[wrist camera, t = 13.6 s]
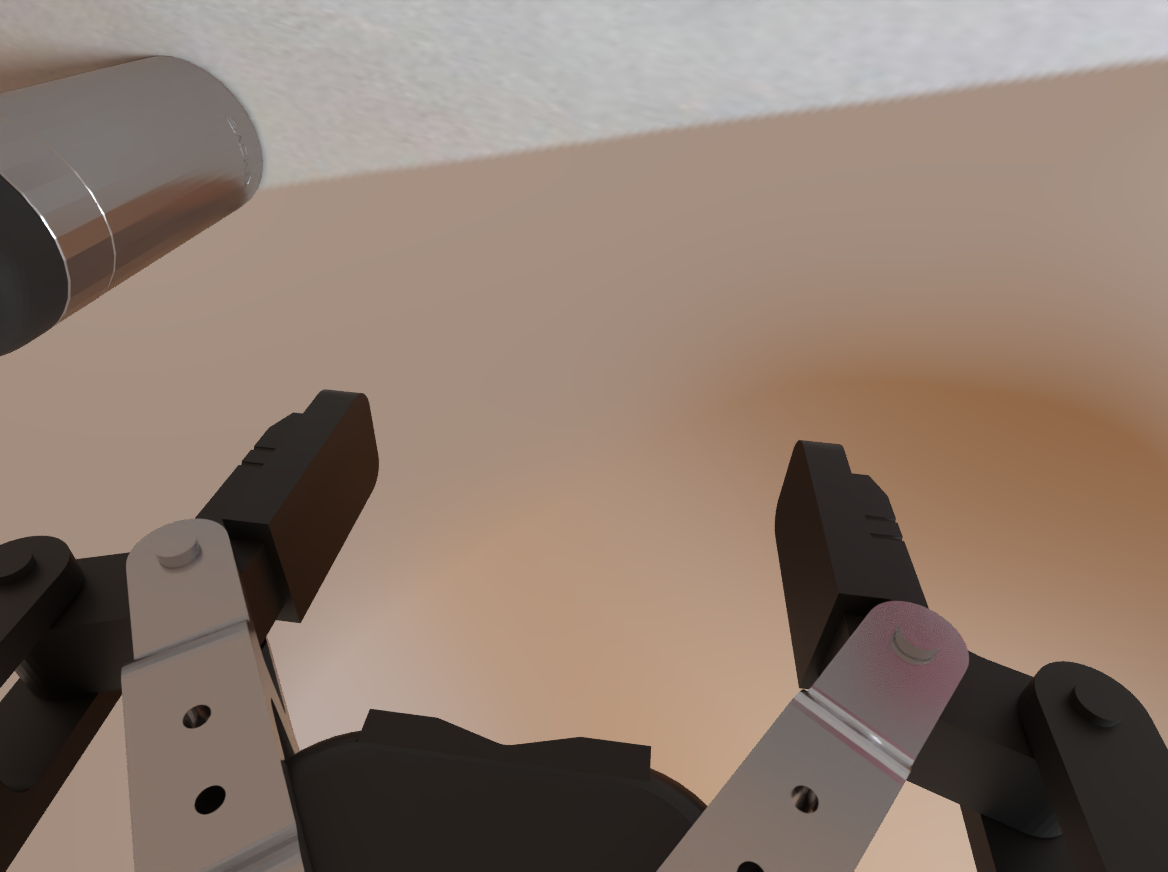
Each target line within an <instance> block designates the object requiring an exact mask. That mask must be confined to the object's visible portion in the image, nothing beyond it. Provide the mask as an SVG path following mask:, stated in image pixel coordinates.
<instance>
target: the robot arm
mask: <svg viewBox="0 0 1168 872" xmlns="http://www.w3.org/2000/svg"><path fill="white" fill-rule="evenodd" d="M262 165H263V160H262V152H261V145H260V142H259V139H258V136H257V133H256V130H255V127H254V125H253V123H252V121H251V120H250V118H249V116H248V114H247V112H246V110H245V109H244V108H243V106H242V105H241V104H240V102H239V101H238V99H237V98H236V97H235V95H234V94H233V93H232V92H231V91H230V90H229V89H228V88H227V87H226V86H225V85H224V84H223V83H222V82H221V81H219V80H218V79H217V78H215V77H214V76H213V75H211V74H210V73H209V72H207V71H206V70H204V69H202V68H200V67H198V66H196V65H194V64H193V63H191V62H188V61H185V60H181V59H178V58H174V57H165V56H155V57H150V58H145V59H141V60H137V61H132V62H128V63H124V64H120V65H116V66H111V67H106V68H102V69H98V70H94V71H90V72H86V73H81V74H77V75H73V76H69V77H65V78H61V79H57V80H53V81H49V82H45V83H41V84H37V85H33V86H28V87H24V88H20V89H16V90H12V91H8V92H4V93H0V356H2V355H5V354H8V353H11V352H13V351H14V350H17V349H19V348H20V347H22V346H24V345H26V344H28V343H29V342H31V341H32V340H34V339H35V338H37V337H38V336H40V335H41V334H43V333H45V332H46V331H48V330H49V329H51V328H52V327H53V326H55V325H57V324H58V323H59V322H61V321H63V320H64V319H66V318H67V317H69V316H70V315H72V314H73V313H75V312H77V311H78V310H80V309H82V308H83V307H85V306H86V305H88V304H89V303H91V302H93V301H94V300H96V299H97V298H99V297H100V296H101V295H103V294H104V293H106V292H108V291H109V290H111V289H112V288H114V287H116V286H117V285H119V284H120V283H122V282H123V281H125V280H127V279H128V278H130V277H131V276H133V275H134V274H136V273H138V272H139V271H141V270H142V269H144V268H146V267H147V266H149V265H150V264H152V263H153V262H155V261H156V260H158V259H159V258H161V257H163V256H164V255H166V254H168V253H169V252H171V251H172V250H174V249H175V248H177V247H179V246H180V245H182V244H183V243H185V242H186V241H188V240H190V239H191V238H193V237H194V236H196V235H198V234H199V233H201V232H202V231H204V230H205V229H207V228H209V227H210V226H212V225H214V224H215V223H217V222H218V221H220V220H221V219H223V218H225V217H226V216H228V215H229V214H231V213H232V212H234V211H236V210H237V209H239V208H240V207H242V206H243V205H244V204H245V203H247V202H248V201H249V200H250V199H251V198H252V196H253V195H254V193H255V192H256V190H257V189H258V186H259V183H260V180H261V177H262ZM378 470H379V458H378V451H377V446H376V440H375V434H374V428H373V422H372V416H371V411H370V405H369V401H368V398H367V397H366V395H365V394H363V393H354V392H344V391H335V390H322V391H321V392H320V393H319V394H318V395H317V396H316V397H315V399H314V400H313V401H312V403H311V404H310V405H309V407H308V408H307V409H306V410H305V412H304V413H303V414H301V413H292V414H290V415H289V416H287V417H286V418H284V419H282V420H281V421H279V422H278V423H276V424H275V425H273V426H271V427H270V428H269V429H268V430H267V431H266V432H265V433H264V435H263V436H262V437H261V438H260V440H259V441H258V442H257V443H256V444H255V446H254V450H251V451H250V452H249V453H248V454H247V455H246V457H245V458H244V459H243V460H242V465H238V466H237V468H236V469H235V470H234V472H233V473H232V474H231V475H230V476H229V477H228V479H227V480H226V481H225V482H224V483H223V485H222V486H221V487H220V488H219V490H218V491H217V492H216V493H215V495H214V496H213V497H212V498H211V499H210V501H209V502H208V503H207V504H206V505H205V507H204V508H203V509H202V510H201V512H200V513H199V514H198V515H197V516H196V518H195V519H187V520H181V521H177V522H173V523H170V524H167V525H165V526H162V527H160V528H158V529H156V530H154V531H153V532H151V533H150V534H148V535H146V536H145V537H144V538H142V539H141V540H140V541H139V542H138V543H137V544H136V545H135V546H134V548H133V549H132V550H131V552H129V553H122V554H114V555H106V556H99V557H90V558H83V559H75V557H74V556H73V554H72V552H71V551H70V549H69V547H68V546H67V544H66V543H65V542H63V541H61V540H60V539H58V538H55V537H50V536H32V537H25V538H20V539H17V540H13V541H9V542H7V543H4V544H2V545H0V687H2V685H3V684H4V683H5V682H6V680H7V679H8V678H9V677H10V675H11V674H12V673H13V672H14V671H15V672H16V673H17V674H18V676H19V677H20V678H19V679H18V681H17V682H16V683H15V684H14V686H13V687H12V688H11V689H10V691H9V692H8V693H7V694H6V696H5V697H4V698H3V699H2V701H1V702H0V872H6V870H7V869H8V867H9V865H10V864H11V862H12V861H13V860H14V858H15V857H16V855H17V853H18V852H19V850H20V849H21V847H22V846H23V844H24V843H25V841H26V840H27V838H28V837H29V835H30V833H31V832H32V830H33V829H34V828H35V826H36V825H37V823H38V821H39V820H40V818H41V817H42V815H43V814H44V812H45V811H46V809H47V808H48V806H49V804H50V803H51V802H52V800H53V799H54V797H55V796H56V794H57V793H58V791H59V789H60V788H61V786H62V785H63V783H64V782H65V780H66V779H67V777H68V776H69V774H70V773H71V771H72V770H73V768H74V767H75V765H76V764H77V762H78V760H79V759H80V757H81V756H82V754H83V753H84V751H85V750H86V748H87V747H88V745H89V744H90V742H91V740H92V739H93V738H94V736H95V735H96V733H97V732H98V730H99V728H100V727H101V725H102V724H103V722H104V721H105V719H106V718H107V716H108V715H109V713H110V712H111V710H112V709H113V707H114V705H115V704H116V702H117V701H118V700H119V698H120V696H121V695H122V698H123V713H124V727H125V740H126V755H127V769H128V783H129V797H130V810H131V826H132V838H133V839H132V840H133V853H134V867H135V872H854V870H855V869H856V867H857V865H858V863H859V861H860V860H861V858H862V856H863V855H864V853H865V851H866V849H867V848H868V846H869V844H870V842H871V841H872V839H873V837H874V835H875V833H876V832H877V830H878V828H879V826H880V825H881V823H882V821H883V820H884V817H885V816H886V814H887V813H888V811H889V809H890V807H891V805H892V804H893V802H894V800H895V798H896V797H897V795H898V793H899V791H900V790H901V788H902V786H903V784H904V783H905V781H906V780H907V781H909V782H911V783H913V784H916V785H918V786H920V787H922V788H925V789H927V790H929V791H931V792H933V793H936V794H938V795H940V796H943V797H945V798H947V799H949V800H951V801H954V802H956V803H958V804H960V807H961V811H962V815H963V819H964V822H965V826H966V830H967V833H968V838H969V842H970V845H971V849H972V853H973V857H974V861H975V865H976V868H977V872H1168V749H1167V747H1166V746H1165V744H1164V742H1163V740H1162V738H1161V736H1160V734H1159V732H1158V730H1157V728H1156V727H1155V725H1154V723H1153V721H1152V719H1151V717H1150V716H1149V714H1148V712H1147V711H1146V709H1145V708H1144V707H1143V705H1142V704H1141V703H1140V702H1139V700H1138V699H1137V698H1136V697H1135V696H1134V695H1133V694H1131V692H1130V691H1128V690H1127V689H1126V688H1125V687H1124V686H1122V685H1121V684H1120V683H1118V682H1117V681H1115V680H1114V679H1112V678H1111V677H1109V676H1107V675H1106V674H1104V673H1102V672H1100V671H1098V670H1096V669H1093V668H1091V667H1088V666H1085V665H1082V664H1078V663H1073V662H1064V661H1062V662H1053V663H1049V664H1047V665H1045V666H1043V667H1042V668H1041V669H1040V670H1039V671H1038V672H1037V674H1036V675H1035V676H1034V677H1032V676H1029V675H1027V674H1024V673H1021V672H1019V671H1016V670H1013V669H1011V668H1008V667H1005V666H1002V665H1000V664H997V663H995V662H992V661H990V660H987V659H985V658H982V657H980V656H977V655H976V654H974V653H972V652H970V651H968V650H967V646H966V644H965V642H964V640H963V638H962V637H961V635H960V634H959V633H958V631H957V630H956V629H955V628H954V627H953V626H952V625H951V624H950V623H949V622H948V621H947V620H945V619H944V618H943V617H941V616H940V615H938V614H937V613H935V612H933V611H932V610H930V609H929V608H928V605H927V602H926V600H925V597H924V594H923V592H922V589H921V586H920V583H919V580H918V578H917V575H916V572H915V570H914V567H913V564H912V561H911V559H910V556H909V553H908V551H907V548H906V545H905V542H904V541H902V534H901V531H900V528H899V526H898V523H895V520H896V518H895V515H894V512H893V510H892V507H891V504H890V501H889V498H888V496H887V495H886V494H885V493H884V492H883V491H882V490H881V488H880V487H879V486H878V485H877V484H876V483H875V482H874V481H873V480H872V479H871V477H870V476H868V475H860V474H852V473H851V470H850V467H849V464H848V460H847V457H846V454H845V451H844V448H843V446H842V445H840V444H831V443H822V442H812V441H803V440H799V441H798V442H797V443H796V444H795V447H794V449H793V452H792V456H791V459H790V463H789V466H788V470H787V473H786V476H785V479H784V483H783V486H782V489H781V493H780V496H779V499H778V503H777V509H776V516H775V537H776V544H777V550H778V556H779V563H780V569H781V576H782V582H783V588H784V595H785V601H786V608H787V614H788V620H789V627H790V633H791V639H792V646H793V652H794V659H795V665H796V671H797V678H798V684H799V688H802V689H803V690H801V691H800V692H799V693H798V694H797V695H796V696H795V697H794V698H793V699H792V701H791V702H790V703H789V704H788V706H787V707H786V708H785V709H784V711H783V712H782V713H781V714H780V716H779V717H778V718H777V719H776V721H775V722H774V723H773V725H772V726H771V727H770V728H769V730H768V731H767V732H766V733H765V735H764V736H763V737H762V739H761V740H760V741H759V742H758V744H757V745H756V746H755V747H754V749H753V750H752V751H751V752H750V754H749V755H748V756H747V757H746V759H745V760H744V761H743V762H742V764H741V765H740V766H739V768H738V769H737V770H736V771H735V773H734V774H733V775H732V777H731V778H730V779H729V780H728V781H727V783H726V784H725V785H724V787H723V788H722V789H721V790H720V792H719V793H718V794H717V795H716V797H715V798H714V799H713V800H712V802H711V803H710V804H709V806H707V805H706V804H705V803H704V802H703V801H701V800H700V799H699V798H698V797H697V796H696V795H695V794H694V793H692V792H691V791H689V790H688V789H686V788H685V787H684V786H683V785H681V784H680V783H678V782H677V781H675V780H673V779H671V778H669V777H668V776H666V775H664V774H662V773H660V772H658V771H655V770H653V769H651V768H650V759H651V746H645V745H637V744H630V743H622V742H615V741H607V740H600V739H592V738H584V737H576V738H567V739H559V740H551V741H543V742H534V743H526V744H517V745H502V744H499V743H496V742H494V741H492V740H489V739H487V738H484V737H482V736H480V735H477V734H475V733H473V732H470V731H468V730H465V729H463V728H461V727H458V726H456V725H453V724H451V723H449V722H446V721H444V720H441V719H439V718H435V717H427V716H419V715H412V714H405V713H397V712H390V711H382V710H374V709H370V710H369V713H368V715H367V718H366V720H365V723H364V725H363V728H362V730H361V731H356V732H351V733H347V734H343V735H338V736H334V737H332V738H329V739H326V740H323V741H321V742H318V743H316V744H314V745H312V746H310V747H307V748H305V749H303V750H301V751H300V750H299V747H298V744H297V741H296V738H295V735H294V732H293V728H292V725H291V721H290V718H289V714H288V710H287V706H286V703H285V699H284V695H283V692H282V688H281V684H280V681H279V677H278V674H277V669H276V666H275V662H274V658H273V655H272V651H271V647H270V644H269V641H268V638H267V634H268V632H269V631H270V629H271V627H272V626H273V624H274V622H275V620H281V621H288V622H296V623H301V621H302V620H303V618H304V616H305V614H306V612H307V610H308V609H309V607H310V605H311V603H312V601H313V599H314V597H315V596H316V594H317V592H318V590H319V588H320V586H321V585H322V583H323V581H324V579H325V577H326V575H327V574H328V572H329V570H330V568H331V566H332V564H333V563H334V561H335V559H336V557H337V555H338V553H339V552H340V550H341V548H342V546H343V544H344V542H345V541H346V539H347V537H348V535H349V533H350V531H351V529H352V527H353V526H354V524H355V522H356V520H357V519H358V517H359V515H360V513H361V511H362V509H363V508H364V505H365V504H366V502H367V500H368V498H369V497H370V495H371V493H372V491H373V489H374V487H375V484H376V481H377V476H378ZM804 689H809V690H808V691H806V690H804Z"/></svg>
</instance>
